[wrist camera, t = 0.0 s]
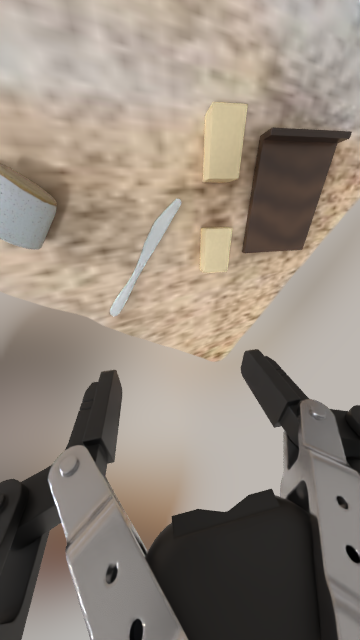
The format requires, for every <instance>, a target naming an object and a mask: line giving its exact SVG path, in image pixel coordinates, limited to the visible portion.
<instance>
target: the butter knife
mask: <svg viewBox="0 0 360 640" xmlns="http://www.w3.org/2000/svg"><path fill="white" fill-rule="evenodd" d="M180 205H181V200H180V199H176V200H175V201H174V202H173V203H172V204H171V205H170V206H169V207H168V208H167V209H166V210H165V211H164V212H163V213H162V214H161V215H160V216H159V217H158V219H157V220H156V221H155V223H154V225H153V227H152V228H151V231H150V233H149V235H148V237H147V239H146V241H145V244H144V247H143V250H142V253H141V256H140V259H139V261H138V263H137V266H136V268H135V271H134V273H133V274H132V276H131V278H130V279H129V281H128V283H127V284H126V285H125V287H124V288H123V290H122V291H121V292H120V294H119V295H118V297H117V298H116V300H115V301H114V303H113V305H112V307H111V309H110V314H111V315H112V316H117V315H118V314H119V313H120V311H121V310H122V308H123V307H124V305H125V303H126V301H127V299H128V297H129V295H130V293H131V291H132V289H133V286H134V284H135V282H136V280H137V279H138V277H139V275H140V273H141V271H142V269H143V268H144V266H145V264H146V263H147V261H148V259H149V258H150V256H151V254H152V253H153V251H154V250H155V248H156V246H157V245H158V243H159V241H160V240H161V238H162V236H163V235H164V233H165V231H166V229H167V227H168V226H169V224H170V222H171V220H172V218H173V217H174V215H175V213H176V212H177V210H178V209H179V207H180Z"/></svg>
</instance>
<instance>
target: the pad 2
mask: <svg viewBox="0 0 360 640" xmlns="http://www.w3.org/2000/svg"><path fill="white" fill-rule="evenodd" d="M231 236H232V228H228V227H212V228H201V240H200V267H199V269H200V270H201V271H202V272H203V273H216V272H227V269H228V261H229V253H230V244H231Z"/></svg>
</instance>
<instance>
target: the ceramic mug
mask: <svg viewBox="0 0 360 640" xmlns="http://www.w3.org/2000/svg"><path fill="white" fill-rule="evenodd" d="M56 208H57V203H56V201H55V199H54V198H53V197H52V196H51V195H50V194H49V193H47V192H46V191H45V190H44V189H42V188H41V187H39V186H38V185H37V184H35V183H34V182H32V181H31V180H29V179H28V178H26V177H25V176H23V175H21V174H20V173H18V172H16V171H15V170H13V169H11V168H9V167H7V166H5V165H2V164H0V239H2V240H4V241H6V242H8V243H11V244H13V245H16V246H19V247H23V248H27V249H40V248H41V247H42V245H43V243H44V240H45V238H46V235H47V233H48V231H49V228H50V225H51V223H52V221H53V219H54V216H55V214H56Z"/></svg>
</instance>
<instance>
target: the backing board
mask: <svg viewBox="0 0 360 640" xmlns="http://www.w3.org/2000/svg"><path fill="white" fill-rule="evenodd" d="M351 133H352V132H347V131H327V130H308V129H289V128H271V129H270V130H268V131H267V132H266V133H264V134H263V135H261V136H260V142H259V148H258V154H257V161H256V167H255V173H254V180H253V186H252V192H251V199H250V205H249V211H248V217H247V224H246V230H245V236H244V243H243V249H242V252H243V253H255V252H272V251H288V250H302V249H303V246H304V243H305V240H306V237H307V234H308V231H309V228H310V225H311V222H312V219H313V216H314V213H315V210H316V207H317V204H318V201H319V198H320V195H321V192H322V189H323V185H324V182H325V179H326V176H327V173H328V170H329V167H330V164H331V161H332V158H333V155H334V152H335V149H336V146H337V143H339V142H342V141H344V140H347V139H349V138H350V135H351Z"/></svg>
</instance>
